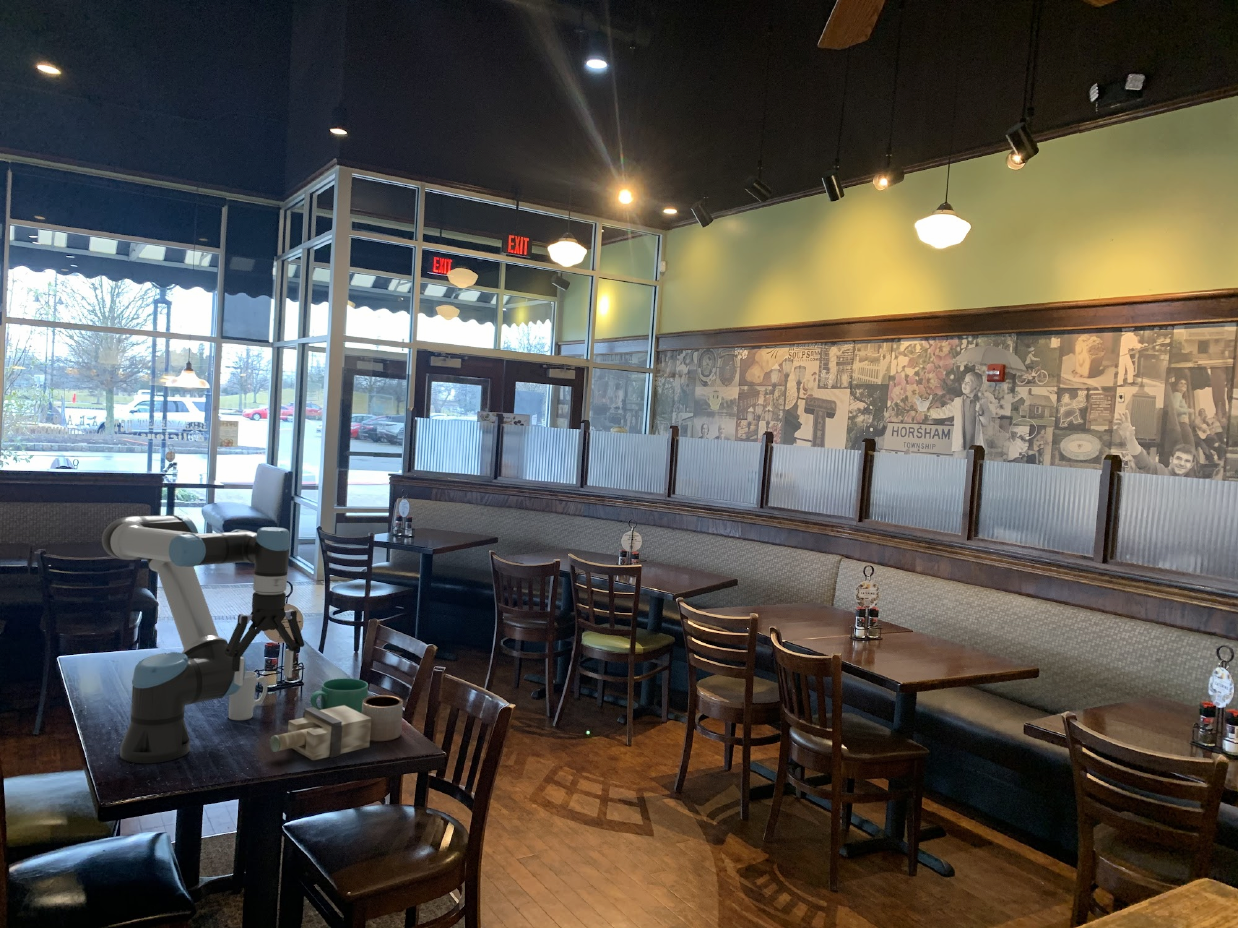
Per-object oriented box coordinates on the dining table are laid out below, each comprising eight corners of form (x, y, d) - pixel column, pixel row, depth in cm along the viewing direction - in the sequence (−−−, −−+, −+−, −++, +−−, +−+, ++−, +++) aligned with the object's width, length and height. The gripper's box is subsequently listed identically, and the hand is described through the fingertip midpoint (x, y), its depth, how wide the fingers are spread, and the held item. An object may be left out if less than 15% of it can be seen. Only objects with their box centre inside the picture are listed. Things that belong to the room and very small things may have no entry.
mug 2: (353, 707, 258) (355, 675, 258) (373, 719, 249) (376, 686, 249) (298, 716, 246) (301, 683, 246) (318, 729, 237) (320, 695, 237)
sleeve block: (314, 761, 215) (317, 727, 215) (284, 743, 225) (287, 711, 225) (371, 747, 227) (373, 715, 227) (340, 731, 237) (342, 700, 237)
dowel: (277, 753, 213) (278, 738, 213) (269, 749, 216) (270, 733, 216) (329, 741, 224) (330, 726, 224) (321, 737, 226) (322, 722, 226)
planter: (367, 727, 242) (369, 693, 242) (405, 730, 242) (408, 696, 242) (353, 740, 231) (356, 705, 231) (394, 744, 231) (396, 708, 231)
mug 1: (230, 721, 238) (233, 678, 237) (224, 714, 243) (227, 672, 243) (268, 717, 244) (271, 674, 243) (262, 710, 249) (265, 668, 249)
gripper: (227, 598, 199) (221, 692, 200) (322, 590, 217) (316, 676, 218) (212, 592, 204) (206, 684, 205) (307, 585, 222) (301, 669, 223)
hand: (263, 680), depth 211 cm, fingers open, 12 cm apart
